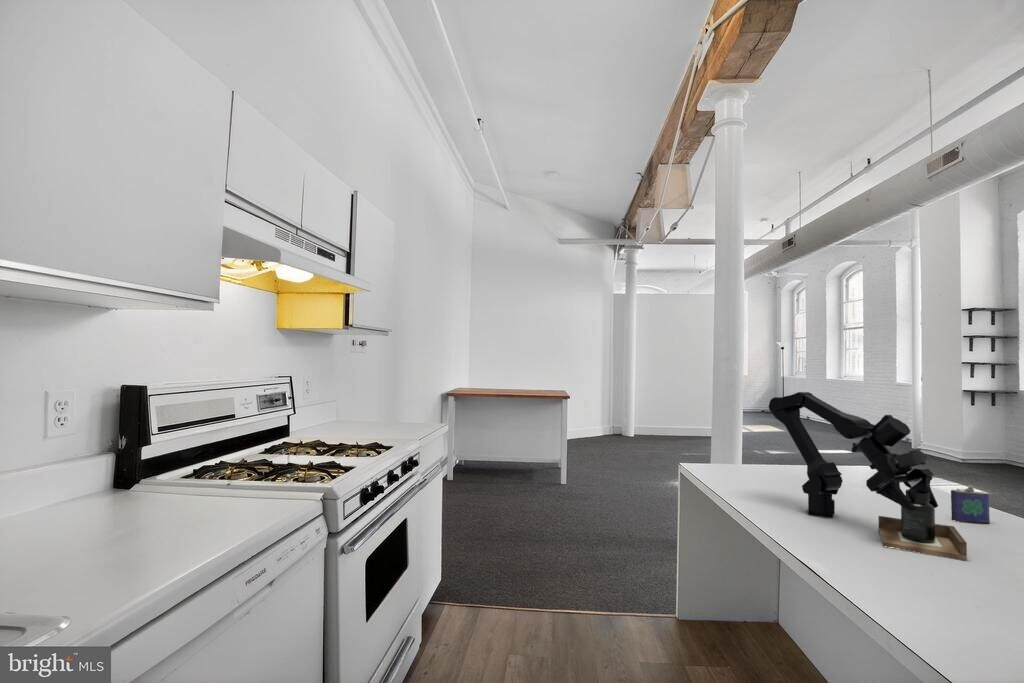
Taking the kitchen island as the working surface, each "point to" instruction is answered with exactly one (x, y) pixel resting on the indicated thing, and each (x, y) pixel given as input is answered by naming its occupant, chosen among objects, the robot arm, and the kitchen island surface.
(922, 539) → the supplement bottle
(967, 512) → the flask
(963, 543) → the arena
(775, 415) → the robot arm
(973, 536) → the kitchen island surface
